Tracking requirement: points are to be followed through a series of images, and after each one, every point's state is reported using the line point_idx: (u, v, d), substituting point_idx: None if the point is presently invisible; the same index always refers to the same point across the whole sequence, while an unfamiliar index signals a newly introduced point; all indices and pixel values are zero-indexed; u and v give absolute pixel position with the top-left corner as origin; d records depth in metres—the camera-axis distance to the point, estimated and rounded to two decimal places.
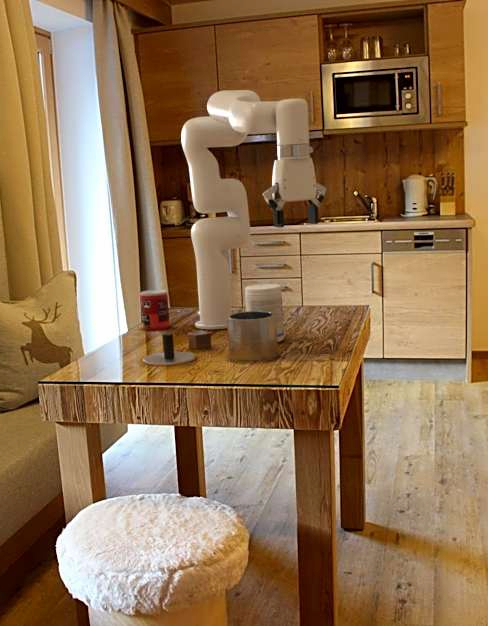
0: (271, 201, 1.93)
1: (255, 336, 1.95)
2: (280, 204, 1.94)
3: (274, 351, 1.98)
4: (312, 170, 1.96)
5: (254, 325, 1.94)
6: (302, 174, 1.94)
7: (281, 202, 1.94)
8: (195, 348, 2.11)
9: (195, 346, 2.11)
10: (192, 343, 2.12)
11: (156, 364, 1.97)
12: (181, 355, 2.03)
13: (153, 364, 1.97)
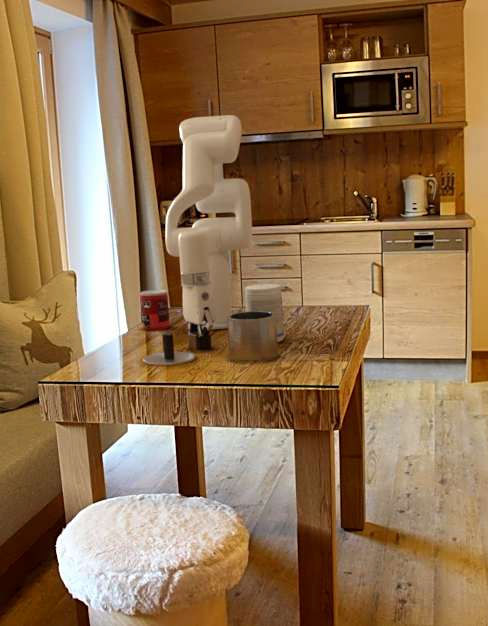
0: (187, 323, 2.17)
1: (255, 336, 1.95)
2: (188, 327, 2.15)
3: (274, 351, 1.98)
4: (195, 298, 2.07)
5: (254, 325, 1.94)
6: (189, 300, 2.10)
7: (188, 325, 2.15)
8: (195, 348, 2.11)
9: (195, 346, 2.11)
10: (192, 343, 2.12)
11: (156, 364, 1.97)
12: (181, 355, 2.03)
13: (153, 364, 1.97)
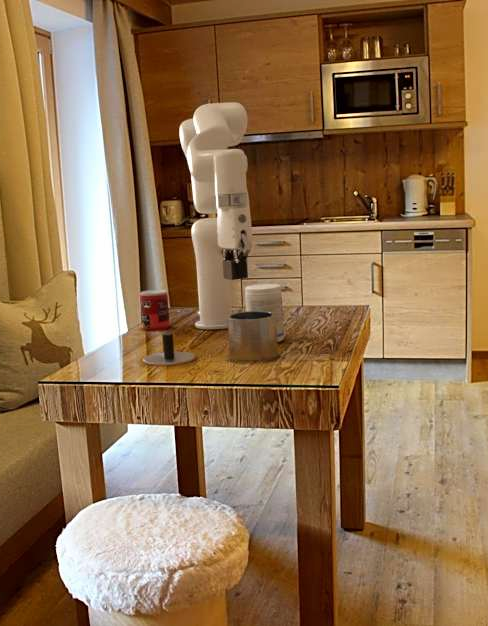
0: (221, 251, 2.04)
1: (255, 336, 1.95)
2: (223, 254, 2.02)
3: (274, 351, 1.98)
4: (231, 221, 1.94)
5: (254, 325, 1.94)
6: (224, 224, 1.97)
7: (223, 252, 2.02)
8: (230, 275, 1.98)
9: (231, 273, 1.98)
10: (227, 271, 1.99)
11: (156, 364, 1.97)
12: (181, 355, 2.03)
13: (153, 364, 1.97)
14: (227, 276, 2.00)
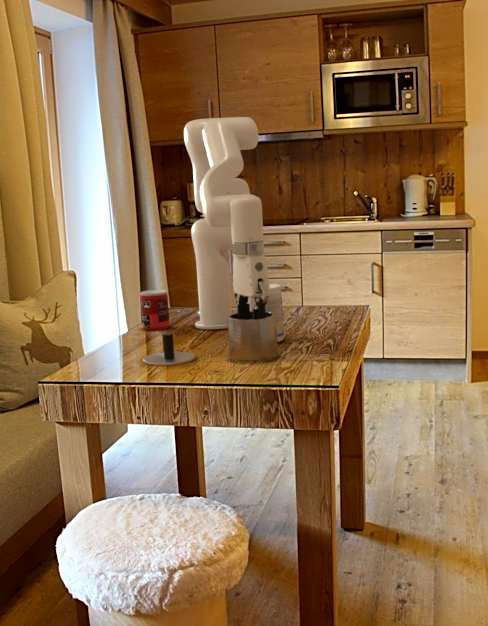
0: None
1: (255, 336, 1.95)
2: (237, 298, 2.02)
3: (274, 351, 1.98)
4: (248, 269, 1.93)
5: (254, 325, 1.94)
6: (241, 271, 1.96)
7: (237, 296, 2.02)
8: None
9: None
10: None
11: (156, 364, 1.97)
12: (181, 355, 2.03)
13: (153, 364, 1.97)
14: None
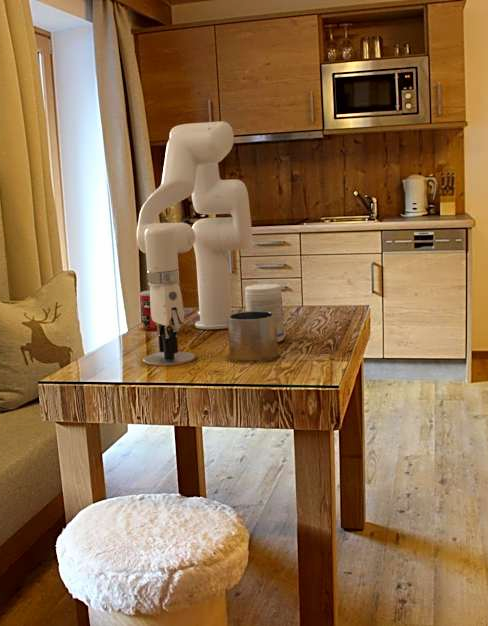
0: (156, 325, 2.04)
1: (255, 336, 1.95)
2: (157, 329, 2.03)
3: (274, 351, 1.98)
4: (162, 298, 1.95)
5: (254, 325, 1.94)
6: (156, 300, 1.98)
7: (157, 327, 2.03)
8: None
9: None
10: None
11: (156, 364, 1.97)
12: (181, 355, 2.03)
13: (153, 364, 1.97)
14: None
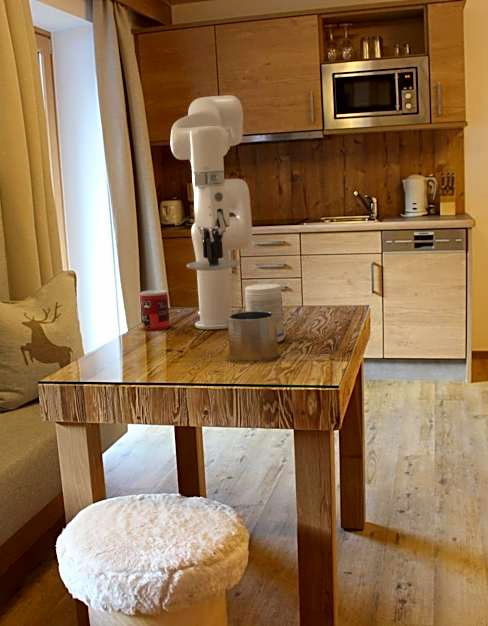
0: (200, 231, 2.00)
1: (255, 336, 1.95)
2: (202, 234, 1.98)
3: (274, 351, 1.98)
4: (208, 199, 1.91)
5: (254, 325, 1.94)
6: (201, 202, 1.93)
7: (202, 232, 1.98)
8: None
9: None
10: None
11: (201, 267, 1.92)
12: (225, 261, 1.99)
13: (198, 268, 1.93)
14: None
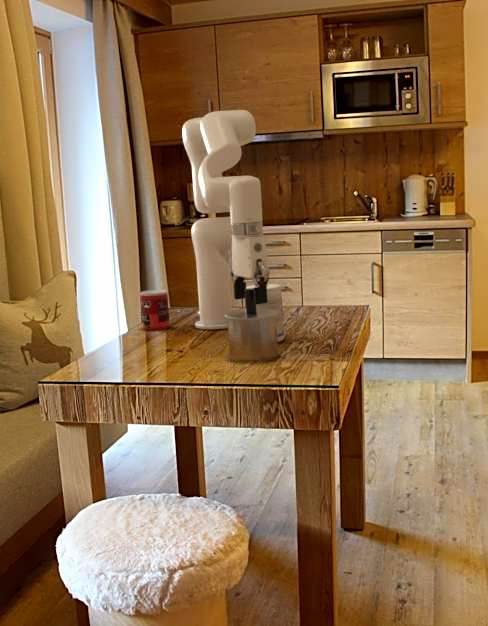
0: (231, 272, 2.04)
1: (255, 336, 1.95)
2: (234, 277, 2.02)
3: (274, 351, 1.98)
4: (247, 250, 1.92)
5: (254, 325, 1.94)
6: (240, 252, 1.95)
7: (234, 275, 2.02)
8: None
9: None
10: None
11: (240, 319, 1.94)
12: (263, 311, 2.00)
13: (237, 319, 1.94)
14: None
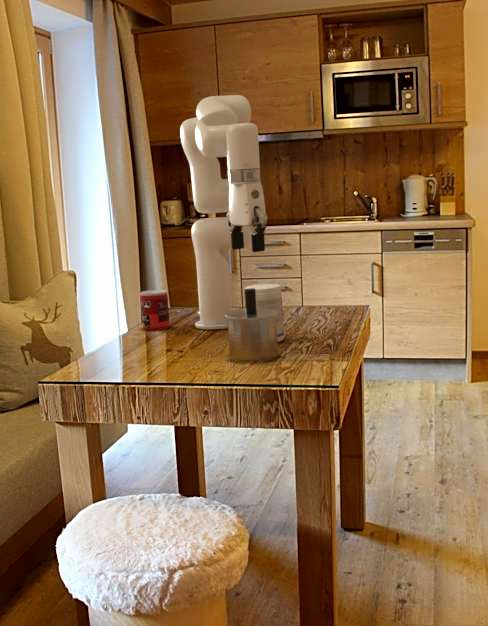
0: (228, 223, 2.02)
1: (255, 336, 1.95)
2: (231, 227, 2.00)
3: (274, 351, 1.98)
4: (244, 196, 1.90)
5: (254, 325, 1.94)
6: (237, 200, 1.93)
7: (231, 225, 1.99)
8: None
9: None
10: None
11: (240, 319, 1.94)
12: (263, 311, 2.00)
13: (237, 319, 1.94)
14: None
